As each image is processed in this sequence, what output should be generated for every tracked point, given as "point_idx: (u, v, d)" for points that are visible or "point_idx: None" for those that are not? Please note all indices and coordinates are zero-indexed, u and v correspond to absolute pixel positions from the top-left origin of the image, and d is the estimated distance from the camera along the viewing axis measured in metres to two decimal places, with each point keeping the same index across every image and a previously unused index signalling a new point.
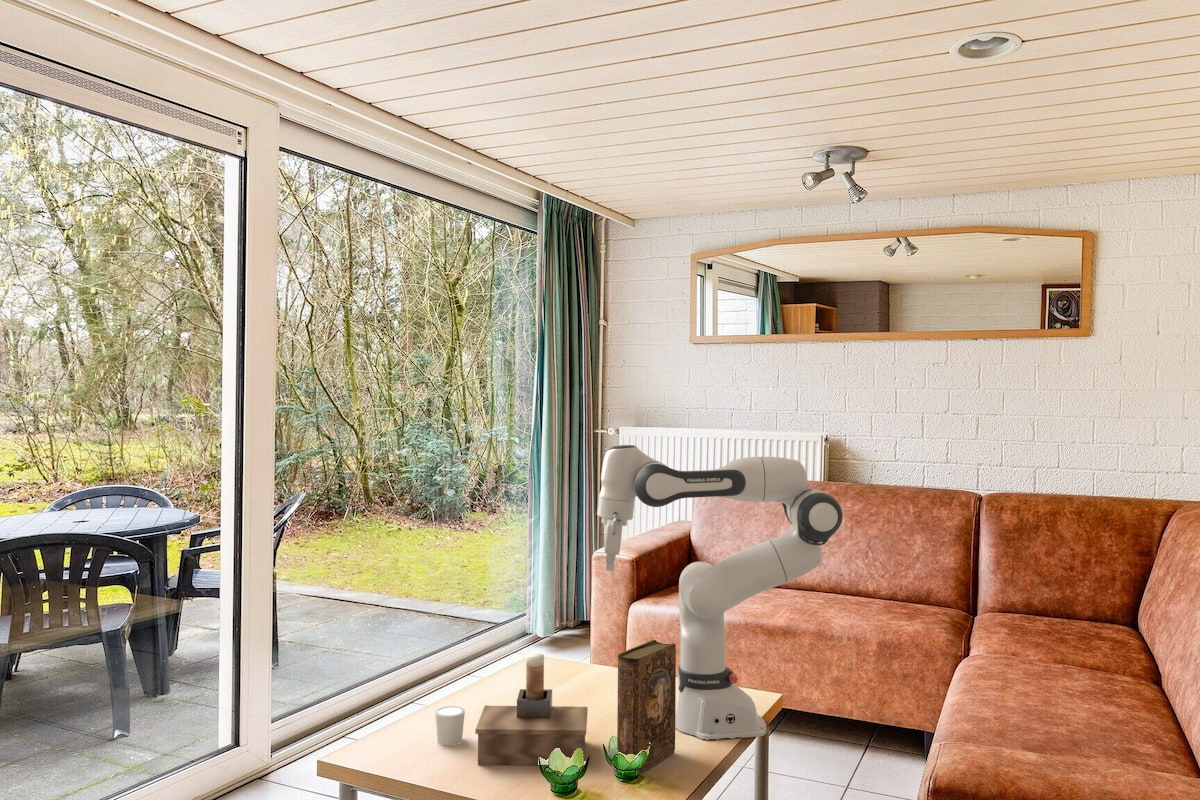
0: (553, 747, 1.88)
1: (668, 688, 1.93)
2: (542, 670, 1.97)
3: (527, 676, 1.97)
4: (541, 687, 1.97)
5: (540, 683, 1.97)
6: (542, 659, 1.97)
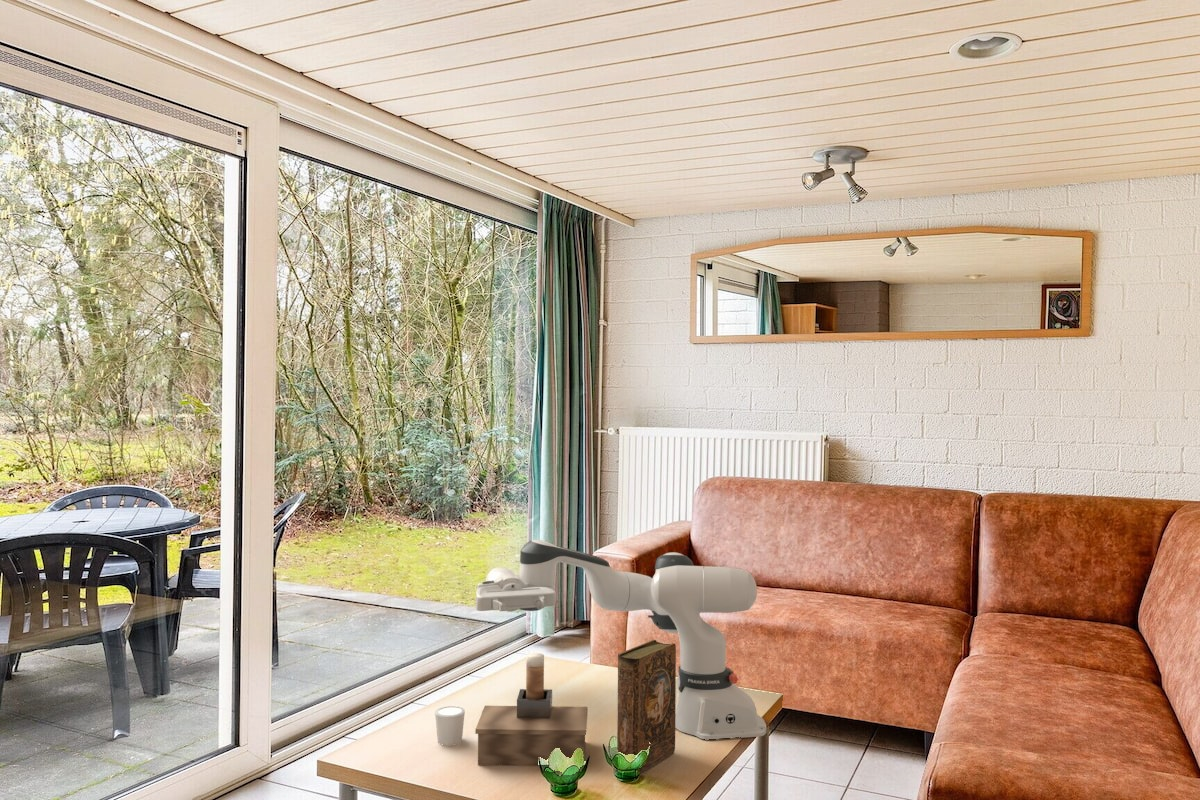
0: (553, 747, 1.88)
1: (668, 688, 1.93)
2: (542, 670, 1.97)
3: (527, 676, 1.97)
4: (541, 687, 1.97)
5: (540, 683, 1.97)
6: (542, 659, 1.97)
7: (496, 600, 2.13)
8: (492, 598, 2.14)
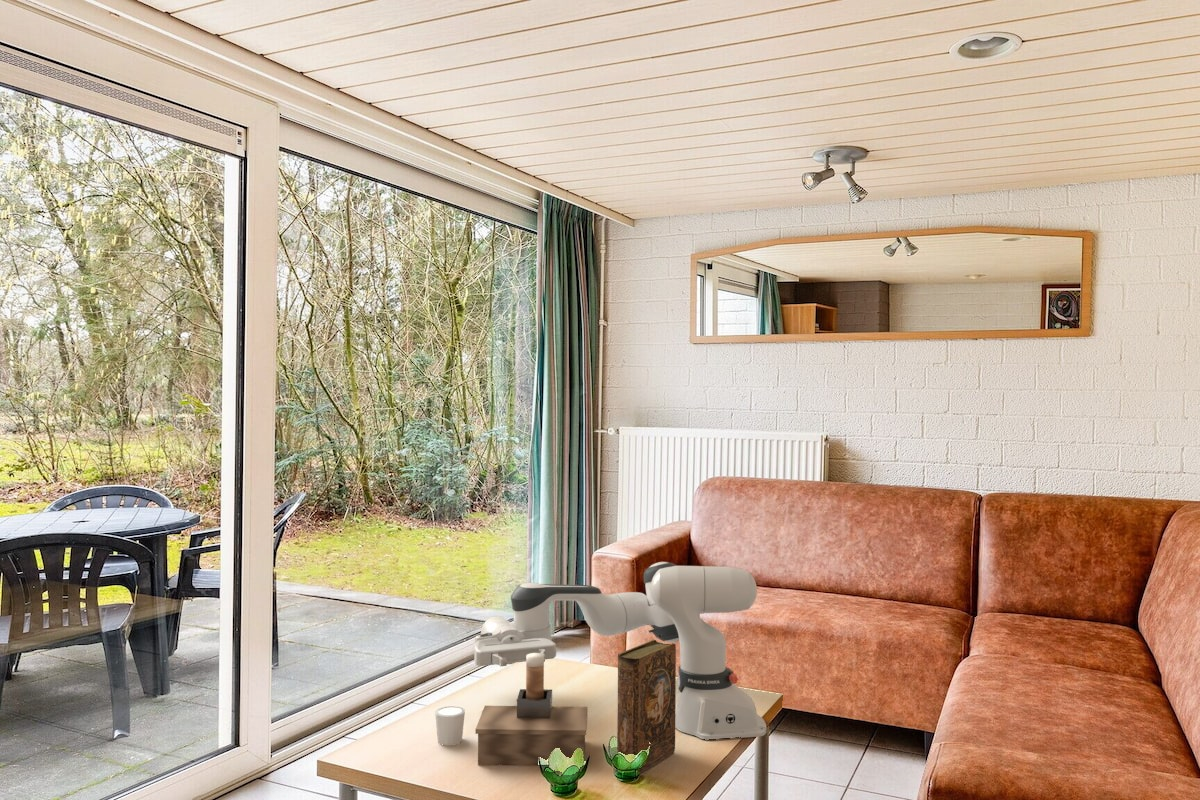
0: (553, 747, 1.88)
1: (668, 688, 1.93)
2: (542, 670, 1.97)
3: (527, 676, 1.97)
4: (541, 687, 1.97)
5: (540, 684, 1.97)
6: (542, 659, 1.97)
7: (496, 654, 2.08)
8: (491, 652, 2.08)
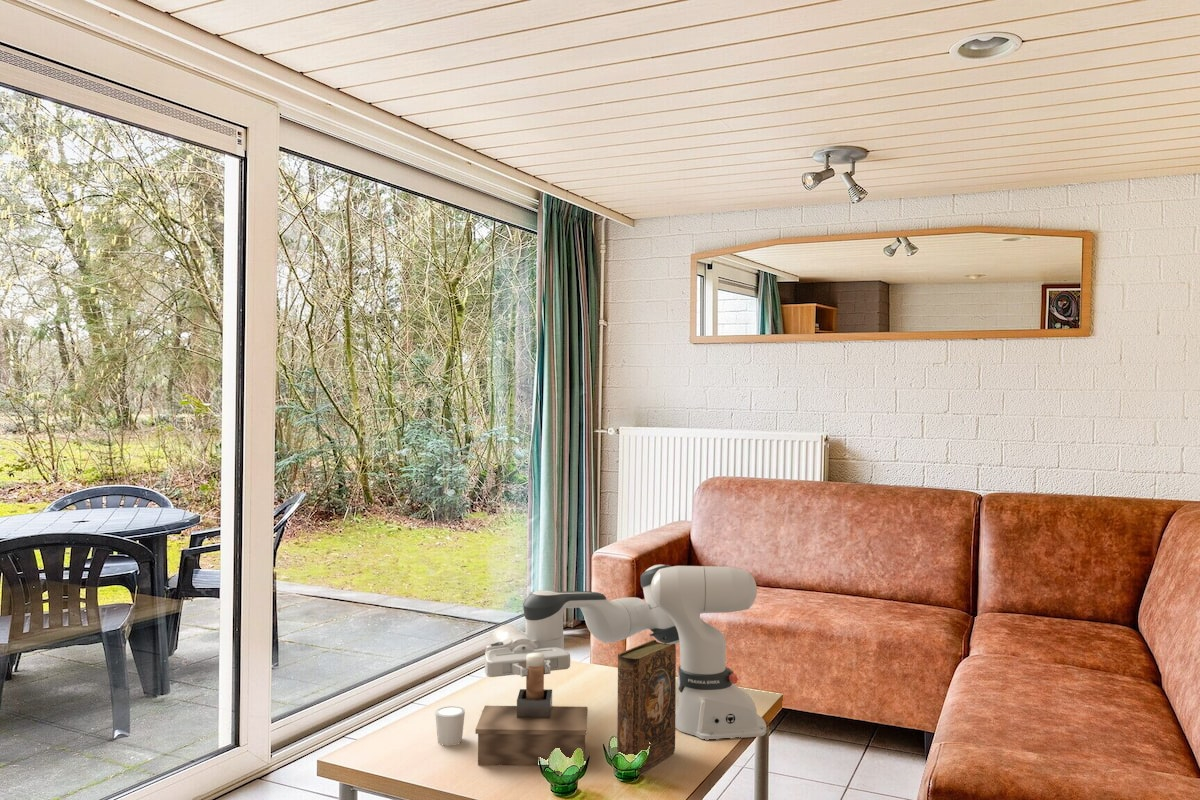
0: (553, 747, 1.88)
1: (668, 688, 1.93)
2: (542, 670, 1.97)
3: (527, 676, 1.97)
4: (541, 687, 1.97)
5: (540, 683, 1.97)
6: (542, 659, 1.97)
7: (516, 664, 1.99)
8: (503, 663, 1.99)
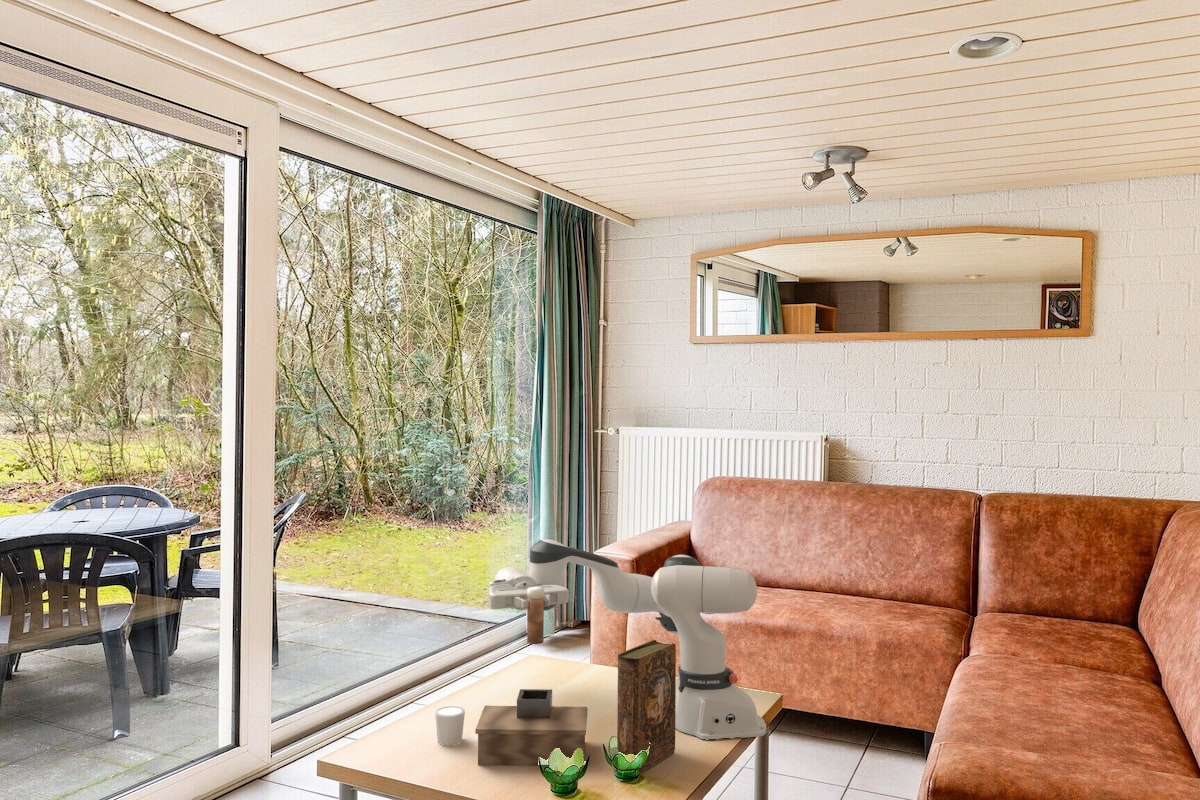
0: (553, 747, 1.88)
1: (668, 688, 1.93)
2: (542, 602, 2.10)
3: (528, 608, 2.10)
4: (541, 617, 2.10)
5: (541, 614, 2.10)
6: (542, 592, 2.10)
7: (518, 597, 2.13)
8: (506, 596, 2.13)
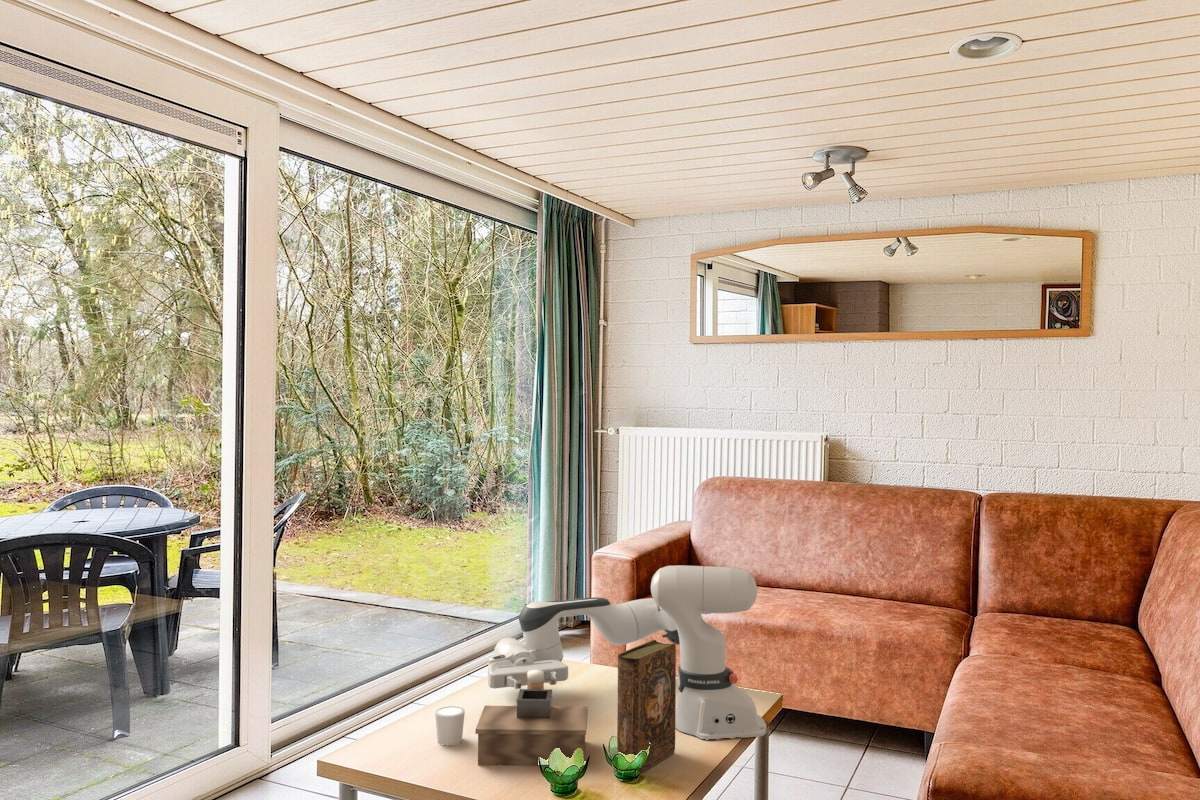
0: (553, 747, 1.88)
1: (668, 688, 1.93)
2: (542, 686, 2.11)
3: None
4: None
5: None
6: (542, 676, 2.11)
7: (510, 677, 2.12)
8: (505, 675, 2.13)
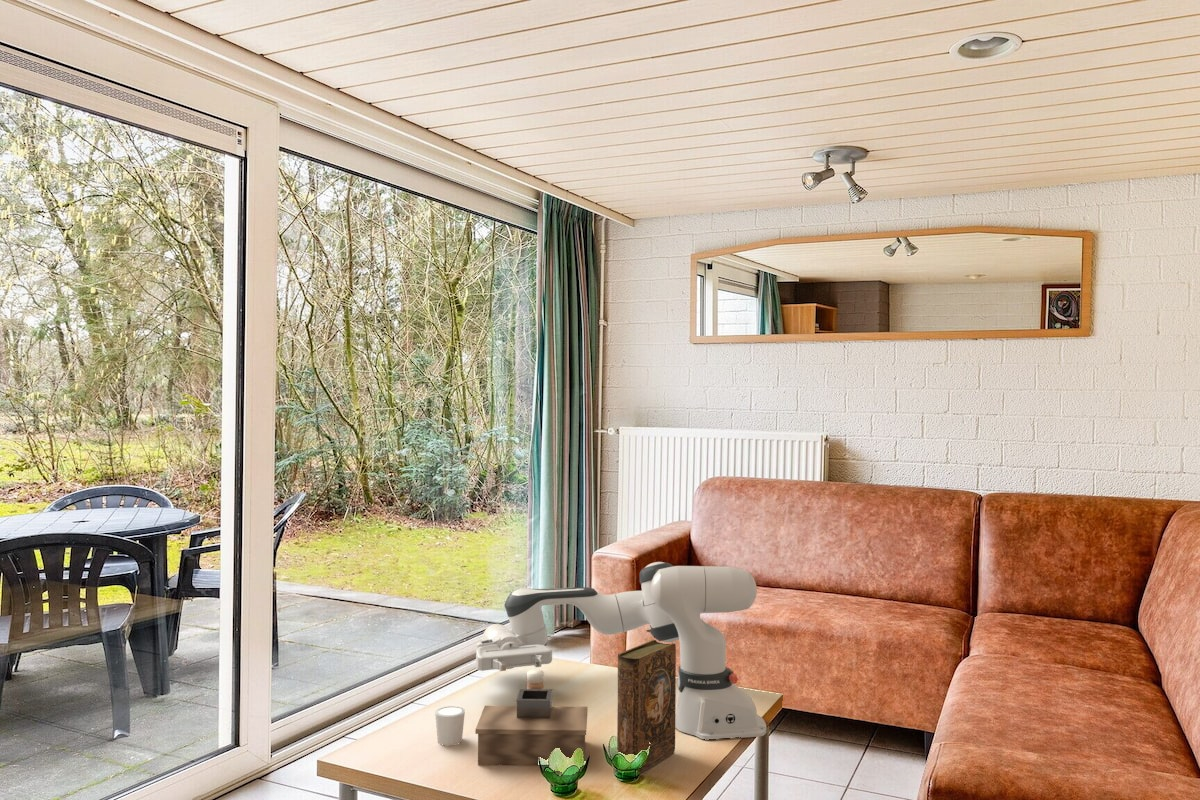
0: (553, 747, 1.88)
1: (668, 688, 1.93)
2: (542, 686, 2.11)
3: None
4: None
5: None
6: (542, 676, 2.11)
7: (496, 660, 2.24)
8: (492, 658, 2.25)
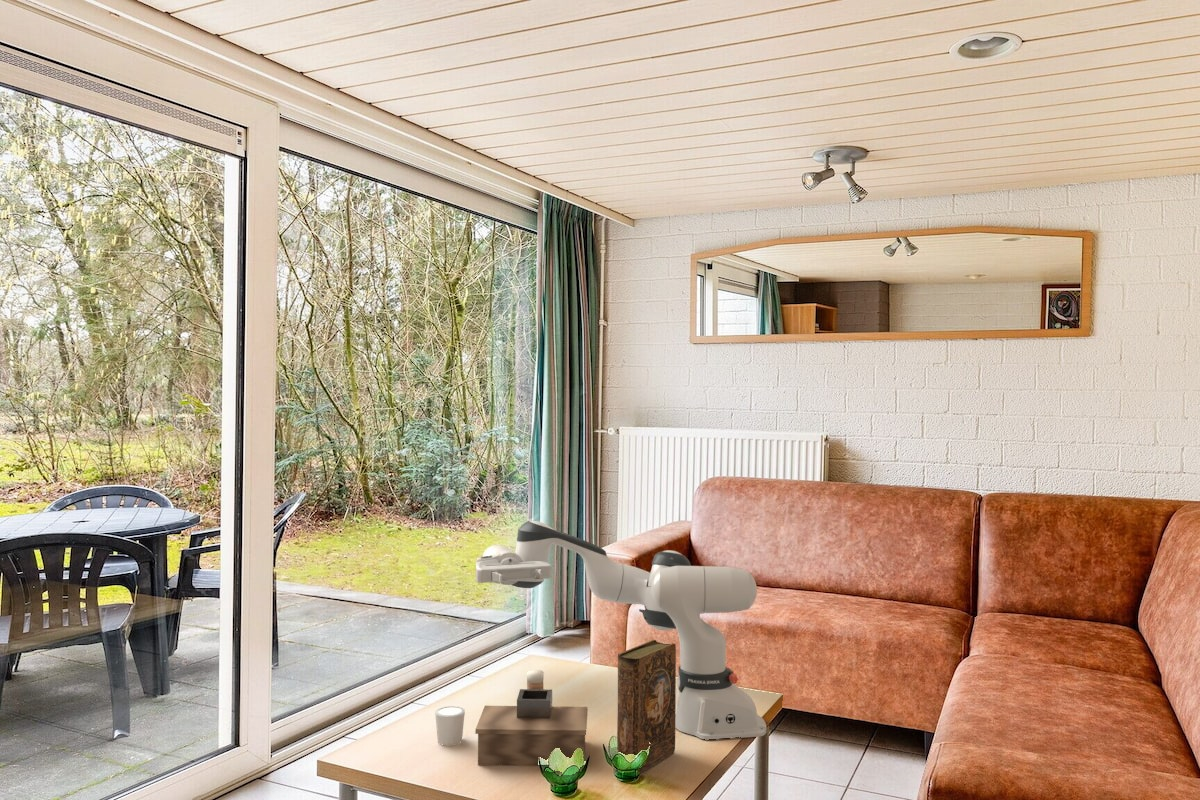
0: (553, 747, 1.88)
1: (668, 688, 1.93)
2: (542, 686, 2.11)
3: None
4: None
5: None
6: (542, 676, 2.11)
7: (495, 572, 2.23)
8: (491, 570, 2.24)
